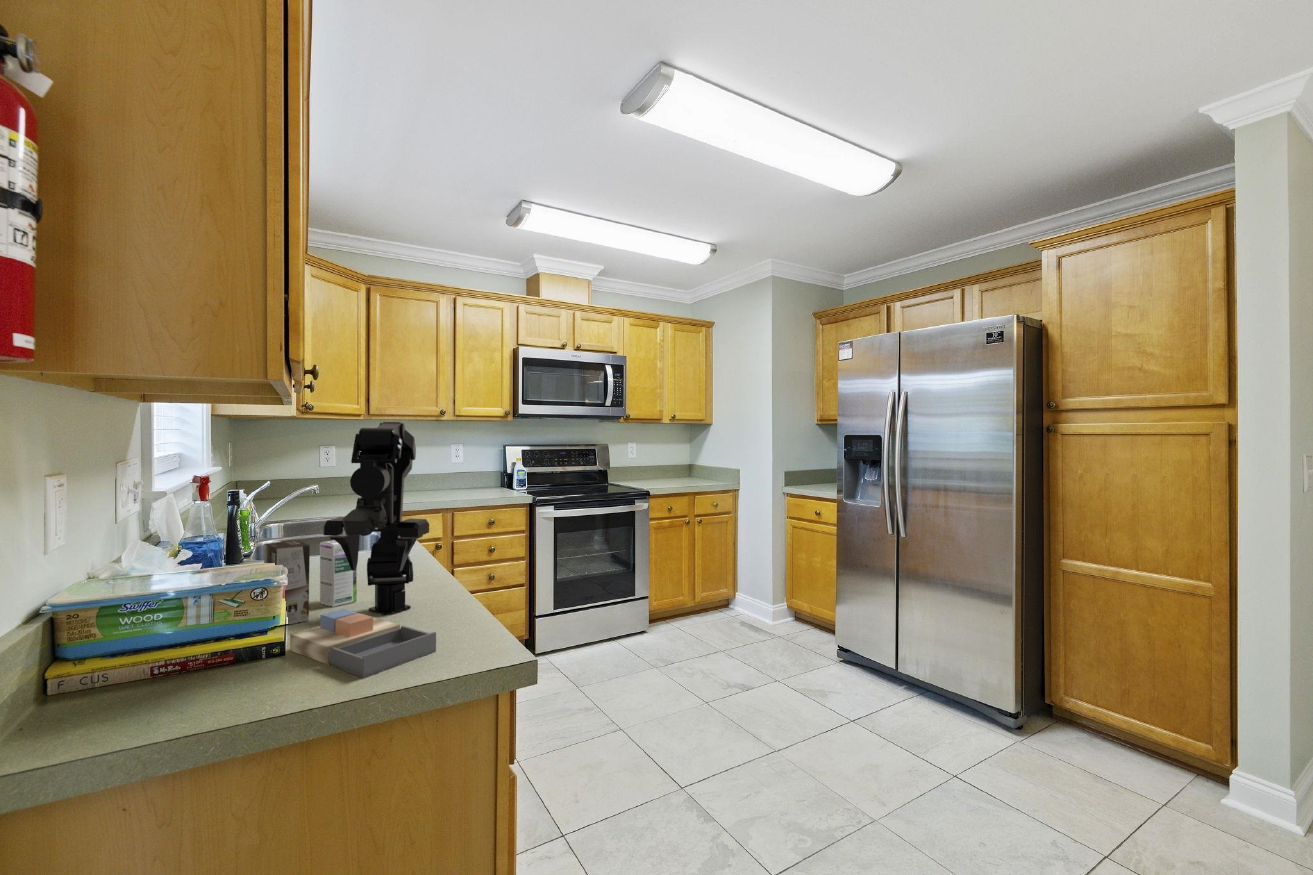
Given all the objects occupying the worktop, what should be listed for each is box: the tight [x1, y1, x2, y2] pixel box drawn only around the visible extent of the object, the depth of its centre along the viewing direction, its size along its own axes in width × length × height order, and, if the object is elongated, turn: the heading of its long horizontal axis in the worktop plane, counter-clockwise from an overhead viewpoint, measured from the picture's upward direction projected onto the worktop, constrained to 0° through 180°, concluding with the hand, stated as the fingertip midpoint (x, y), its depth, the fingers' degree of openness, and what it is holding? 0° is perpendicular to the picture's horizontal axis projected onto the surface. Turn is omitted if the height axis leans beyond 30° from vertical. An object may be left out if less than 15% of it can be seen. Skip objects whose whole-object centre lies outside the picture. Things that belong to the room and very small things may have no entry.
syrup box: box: [319, 540, 358, 608], centre depth 138 cm, size 6×6×14 cm
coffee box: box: [263, 539, 311, 625], centre depth 125 cm, size 9×6×16 cm
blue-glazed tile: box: [319, 608, 358, 632], centre depth 112 cm, size 4×4×2 cm
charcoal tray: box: [328, 625, 437, 678], centre depth 105 cm, size 10×14×4 cm
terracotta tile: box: [335, 612, 374, 637], centre depth 109 cm, size 4×4×2 cm
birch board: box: [289, 616, 401, 665], centre depth 111 cm, size 12×14×3 cm
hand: (376, 570), depth 116 cm, fingers open, 9 cm apart
